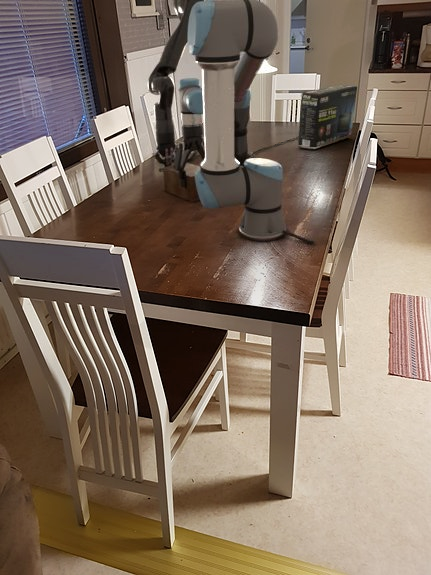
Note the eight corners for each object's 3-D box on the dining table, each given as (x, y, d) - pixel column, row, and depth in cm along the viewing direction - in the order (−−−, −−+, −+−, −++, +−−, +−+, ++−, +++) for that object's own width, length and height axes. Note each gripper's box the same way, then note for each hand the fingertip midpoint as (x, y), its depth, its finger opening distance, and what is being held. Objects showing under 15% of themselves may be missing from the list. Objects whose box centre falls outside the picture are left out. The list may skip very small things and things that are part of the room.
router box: (314, 151, 231) (318, 94, 217) (296, 148, 237) (299, 92, 224) (352, 138, 251) (358, 85, 238) (335, 135, 258) (340, 83, 245)
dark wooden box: (166, 191, 187) (163, 167, 182) (186, 185, 193) (184, 161, 188) (192, 202, 176) (190, 176, 170) (213, 195, 181) (212, 170, 176)
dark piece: (156, 184, 192) (154, 165, 188) (174, 179, 197) (173, 161, 193) (188, 197, 177) (187, 177, 173) (207, 191, 182) (206, 172, 178)
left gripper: (172, 126, 188) (176, 168, 197) (145, 131, 181) (150, 175, 190) (183, 128, 183) (186, 171, 192) (156, 134, 176) (160, 178, 185)
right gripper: (209, 118, 176) (211, 174, 187) (159, 128, 164) (165, 188, 175) (222, 121, 171) (223, 178, 182) (172, 131, 159) (177, 193, 170)
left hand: (168, 173), depth 191 cm, fingers closed
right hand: (195, 183), depth 179 cm, fingers closed on dark wooden box, 10 cm apart
